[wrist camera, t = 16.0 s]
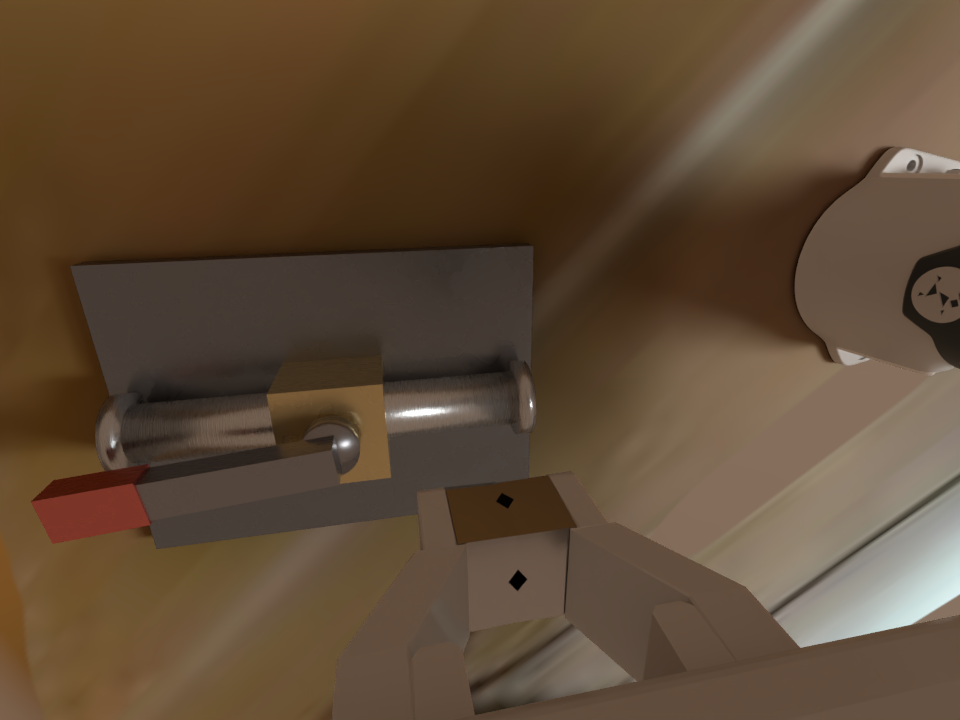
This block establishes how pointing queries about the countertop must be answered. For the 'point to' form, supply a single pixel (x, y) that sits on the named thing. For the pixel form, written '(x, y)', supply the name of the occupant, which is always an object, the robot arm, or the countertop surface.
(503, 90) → the countertop surface
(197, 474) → the lever
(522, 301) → the valve assembly
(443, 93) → the countertop surface
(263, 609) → the countertop surface
